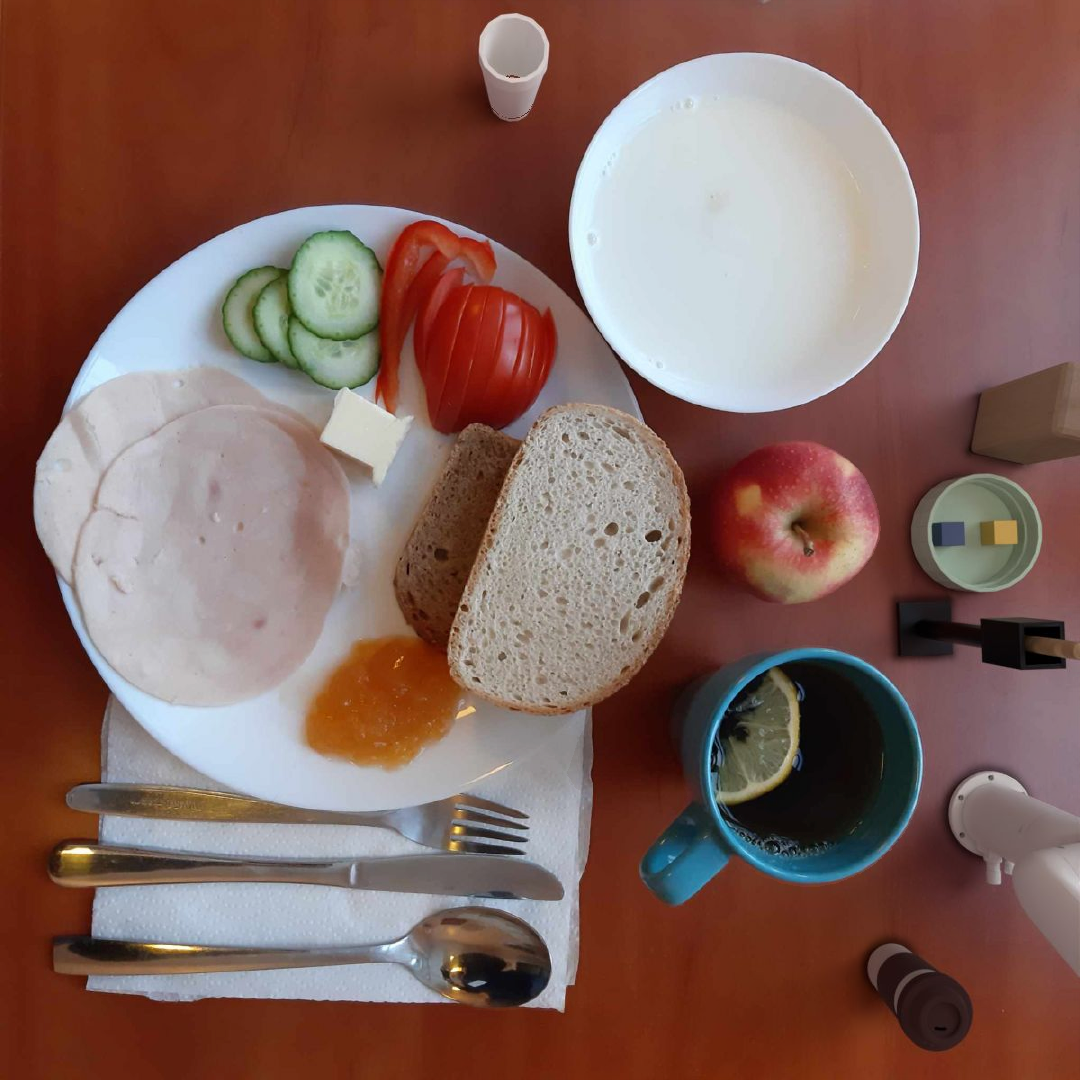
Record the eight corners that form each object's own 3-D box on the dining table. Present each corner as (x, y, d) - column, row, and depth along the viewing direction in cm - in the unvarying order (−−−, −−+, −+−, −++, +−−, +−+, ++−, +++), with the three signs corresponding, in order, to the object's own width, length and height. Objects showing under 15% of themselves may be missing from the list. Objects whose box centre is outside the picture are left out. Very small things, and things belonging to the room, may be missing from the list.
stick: (1012, 647, 108) (1090, 660, 94) (997, 648, 108) (1073, 660, 94) (1012, 631, 108) (1090, 642, 94) (996, 632, 108) (1072, 642, 94)
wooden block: (1029, 466, 130) (1128, 449, 110) (967, 453, 130) (1055, 433, 110) (1040, 403, 131) (1141, 374, 111) (979, 389, 130) (1068, 357, 110)
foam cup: (471, 119, 126) (469, 68, 113) (489, 61, 126) (490, 4, 114) (532, 140, 127) (538, 91, 114) (550, 81, 127) (558, 27, 114)
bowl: (1020, 589, 130) (1044, 590, 124) (911, 592, 128) (930, 593, 123) (1016, 476, 130) (1039, 472, 124) (906, 478, 129) (925, 474, 123)
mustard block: (1003, 544, 129) (1017, 544, 125) (981, 545, 129) (994, 544, 125) (1002, 521, 129) (1016, 520, 125) (980, 521, 129) (994, 520, 125)
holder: (949, 653, 129) (1076, 678, 101) (898, 655, 128) (1011, 680, 100) (947, 600, 129) (1073, 610, 101) (896, 602, 128) (1008, 612, 101)
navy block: (952, 545, 128) (965, 545, 125) (929, 546, 128) (942, 546, 125) (951, 522, 128) (964, 521, 125) (928, 523, 128) (941, 522, 125)
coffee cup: (884, 919, 127) (938, 967, 112) (935, 960, 127) (995, 1013, 112) (844, 972, 126) (892, 1028, 111) (894, 1014, 126) (950, 1074, 112)
